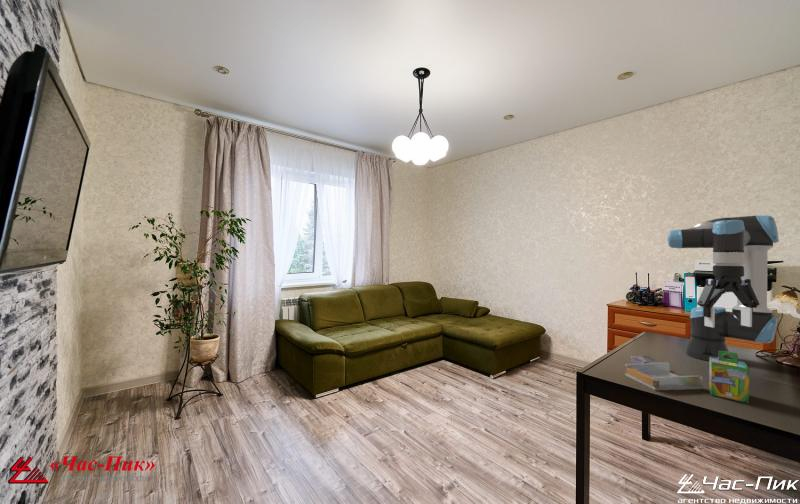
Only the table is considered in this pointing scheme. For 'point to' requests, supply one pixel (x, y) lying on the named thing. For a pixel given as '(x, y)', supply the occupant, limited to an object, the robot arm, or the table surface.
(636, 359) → the rock
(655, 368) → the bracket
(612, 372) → the table surface
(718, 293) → the robot arm
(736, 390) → the chalk box
